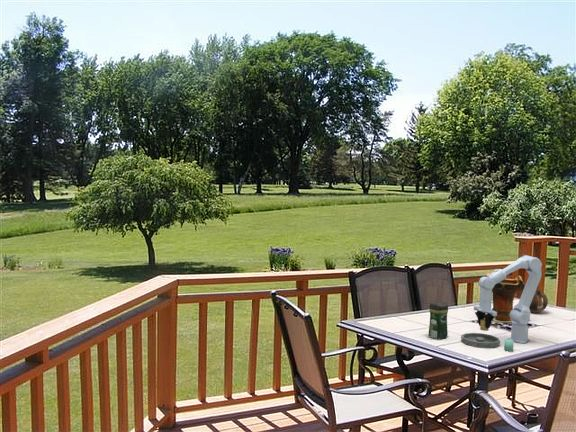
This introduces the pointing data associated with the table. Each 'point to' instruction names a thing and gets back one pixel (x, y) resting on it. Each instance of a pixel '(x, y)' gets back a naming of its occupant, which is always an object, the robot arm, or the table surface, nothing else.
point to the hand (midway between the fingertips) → (484, 326)
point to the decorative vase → (505, 298)
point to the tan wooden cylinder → (483, 325)
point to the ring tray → (480, 340)
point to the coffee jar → (438, 320)
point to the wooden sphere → (538, 302)
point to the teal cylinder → (508, 345)
